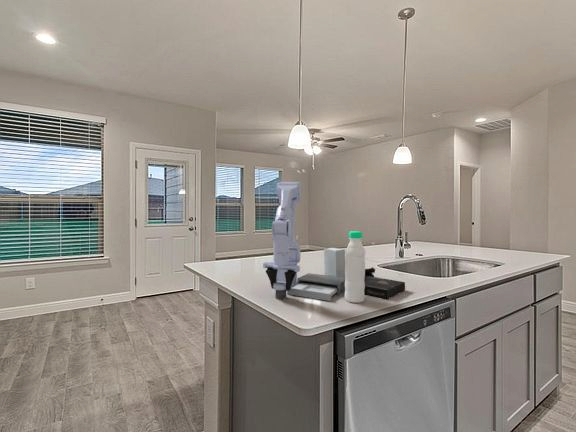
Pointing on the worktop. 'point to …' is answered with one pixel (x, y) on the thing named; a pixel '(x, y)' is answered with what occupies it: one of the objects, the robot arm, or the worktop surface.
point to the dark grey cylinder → (280, 294)
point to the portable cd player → (382, 287)
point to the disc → (279, 285)
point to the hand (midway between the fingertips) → (280, 289)
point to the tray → (313, 291)
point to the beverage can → (369, 272)
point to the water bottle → (355, 269)
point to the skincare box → (334, 262)
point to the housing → (324, 281)
